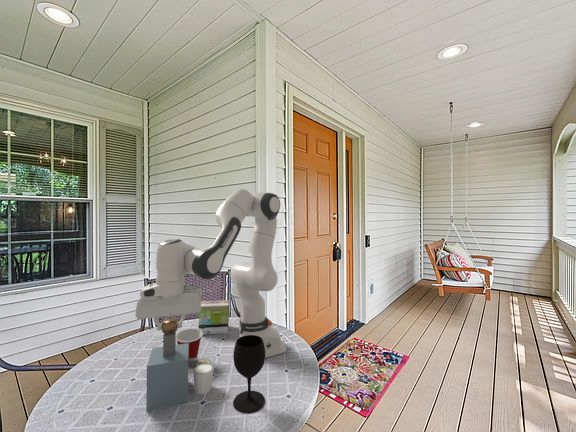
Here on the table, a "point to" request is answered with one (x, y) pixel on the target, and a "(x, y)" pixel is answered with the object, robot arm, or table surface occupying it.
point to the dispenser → (168, 374)
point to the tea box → (214, 317)
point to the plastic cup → (190, 340)
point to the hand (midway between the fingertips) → (169, 328)
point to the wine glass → (249, 371)
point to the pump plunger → (169, 325)
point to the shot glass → (203, 378)
